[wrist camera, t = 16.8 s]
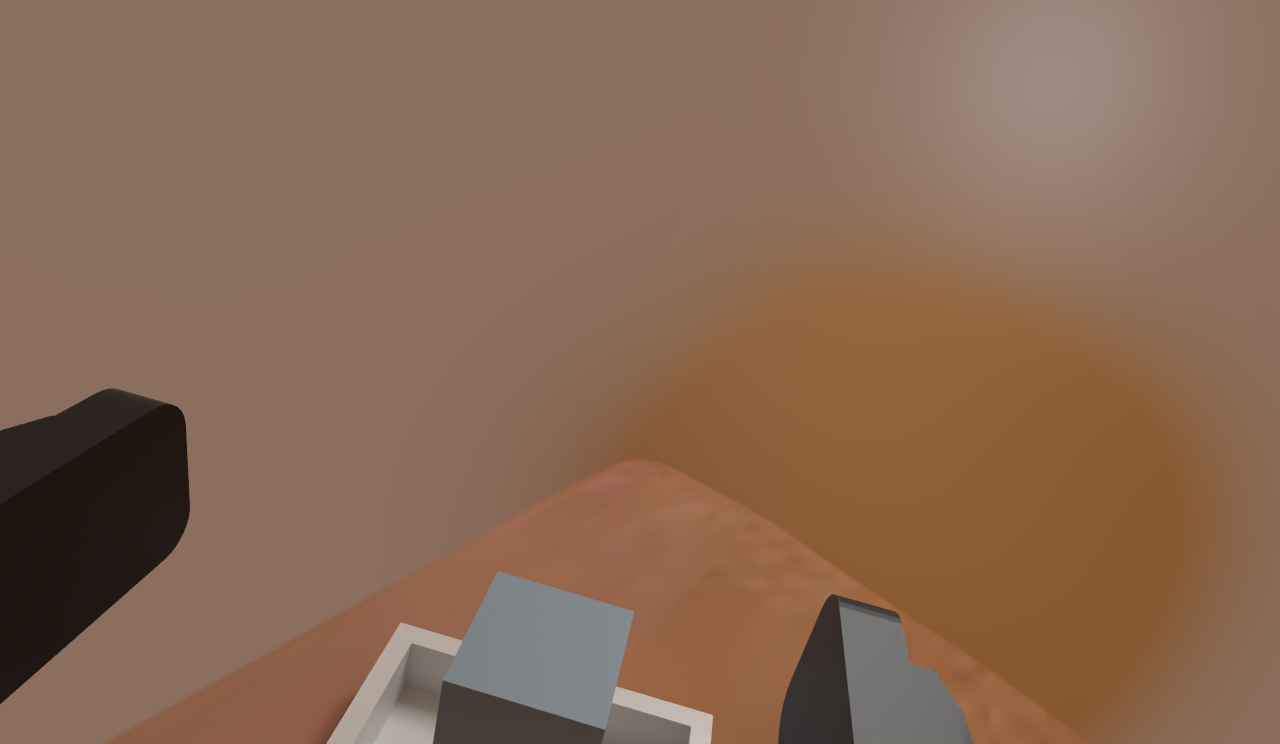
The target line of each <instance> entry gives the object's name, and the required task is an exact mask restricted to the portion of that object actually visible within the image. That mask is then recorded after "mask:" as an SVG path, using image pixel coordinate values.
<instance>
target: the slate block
mask: <svg viewBox="0 0 1280 744" xmlns="http://www.w3.org/2000/svg"><path fill="white" fill-rule="evenodd" d="M633 614H634V611H631V610H627V609H624V608H621V607H617V606H614V605H611V604H607V603H604V602H600V601H597V600H594V599H590V598H587V597H584V596H580V595H577V594H573V593H570V592H567V591H563V590H560V589H557V588H553V587H550V586H547V585H543V584H540V583H536V582H533V581H530V580H526V579H523V578H520V577H516V576H513V575H510V574H506V573H503V572H499V571H498V572H497V574H496V576H495V578H494V580H493V582H492V584H491V586H490V588H489V590H488V592H487V594H486V596H485V598H484V600H483V602H482V604H481V606H480V608H479V610H478V612H477V614H476V616H475V618H474V620H473V622H472V624H471V626H470V628H469V629H468V631H467V633H466V635H465V637H464V639H463V641H462V643H461V645H460V647H459V649H458V651H457V653H456V655H455V657H454V659H453V661H452V663H451V665H450V667H449V669H448V671H447V673H446V675H445V677H444V679H443V682H442V688H441V695H440V701H439V707H438V713H437V720H436V726H435V732H434V739H433V744H601V743H602V739H603V736H604V733H605V729H606V725H607V721H608V717H609V713H610V709H611V705H612V701H613V696H614V692H615V688H616V684H617V680H618V676H619V672H620V668H621V663H622V659H623V655H624V651H625V647H626V643H627V639H628V635H629V630H630V626H631V622H632V618H633Z"/></svg>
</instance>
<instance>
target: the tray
mask: <svg viewBox="0 0 1280 744" xmlns="http://www.w3.org/2000/svg"><path fill="white" fill-rule="evenodd" d="M461 643H462V641H461V640H458V639H455V638H451V637H448V636H444V635H441V634H438V633H434V632H431V631H428V630H424V629H421V628H417V627H414V626H411V625H407V624H404V623H400V625H399V626H398V628H397V630H396V631H395V633H394V635H393V636H392V638H391V639H390V641H389V643H388V644H387V646H386V648H385V649H384V651H383V652H382V654H381V656H380V657H379V659H378V661H377V662H376V664H375V665H374V667H373V669H372V670H371V672H370V674H369V675H368V677H367V678H366V680H365V682H364V683H363V685H362V687H361V688H360V690H359V691H358V693H357V695H356V696H355V698H354V700H353V701H352V703H351V704H350V706H349V708H348V709H347V711H346V713H345V714H344V716H343V717H342V719H341V721H340V722H339V724H338V726H337V727H336V729H335V730H334V732H333V734H332V735H331V737H330V739H329V740H328V742H327V743H326V744H433V739H434V732H435V726H436V720H437V713H438V707H439V701H440V695H441V688H442V682H443V679H444V677H445V675H446V673H447V671H448V669H449V667H450V665H451V663H452V661H453V659H454V657H455V655H456V653H457V651H458V649H459V647H460V645H461ZM712 721H713V715H710V714H707V713H704V712H700V711H697V710H694V709H690V708H687V707H684V706H680V705H677V704H673V703H670V702H667V701H663V700H660V699H657V698H653V697H650V696H646V695H643V694H640V693H636V692H633V691H630V690H626V689H623V688H620V687H616V688H615V692H614V696H613V701H612V705H611V709H610V713H609V717H608V721H607V725H606V729H605V733H604V736H603V739H602V743H601V744H711V733H712Z"/></svg>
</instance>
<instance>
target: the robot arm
mask: <svg viewBox="0 0 1280 744" xmlns="http://www.w3.org/2000/svg"><path fill="white" fill-rule="evenodd" d="M187 460H188V459H187V440H186V423H185V419H184V415H183V413H182V411H181V410H180V409H179V408H178V407H176V406H174V405H171V404H168V403H164V402H161V401H157V400H154V399H150V398H147V397H143V396H140V395H136V394H133V393H129V392H126V391H122V390H118V389H106V390H102V391H100V392H98V393H96V394H94V395H92V396H90V397H88V398H87V399H85V400H83V401H81V402H79V403H78V404H76V405H74V406H72V407H70V408H68V409H67V410H65V411H63V412H61V413H59V414H57V415H55V416H49V417H46V418H42V419H39V420H35V421H32V422H28V423H25V424H21V425H18V426H15V427H11V428H8V429H4V430H1V431H0V704H1V703H2V702H3V701H4V700H5V699H7V698H8V697H9V696H10V695H11V694H12V693H13V692H15V691H16V690H17V689H18V688H19V687H20V686H21V685H22V684H24V683H25V682H26V681H27V680H28V679H29V678H30V677H32V676H33V675H34V674H35V673H36V672H37V671H38V670H40V669H41V668H42V667H43V666H44V665H45V664H46V663H48V662H49V661H50V660H51V659H52V658H53V657H54V656H55V655H57V654H58V653H59V652H60V651H61V650H62V649H63V648H65V647H66V646H67V645H68V644H69V643H70V642H71V641H73V640H74V639H75V638H76V637H77V636H78V635H79V634H80V633H81V632H83V631H84V630H85V629H86V628H87V627H88V626H90V625H91V624H92V623H93V622H94V621H95V620H96V619H98V617H100V616H101V615H102V614H103V613H104V612H105V611H106V610H108V609H109V608H110V607H111V606H112V605H113V604H115V603H116V602H117V601H118V600H119V599H120V598H121V597H123V595H125V594H126V593H127V592H128V591H129V590H130V589H132V588H133V587H134V586H135V585H136V584H137V583H138V582H140V580H142V579H143V578H144V577H145V576H146V575H147V574H149V573H150V572H151V571H152V570H153V569H154V568H155V567H157V566H158V565H159V564H160V563H161V562H162V561H163V560H164V559H166V558H167V556H168V555H169V554H170V553H171V552H172V551H173V550H174V548H175V547H176V545H177V544H178V542H179V541H180V539H181V537H182V534H183V533H184V530H185V528H186V525H187V522H188V518H189V512H190V499H189V480H188V461H187ZM778 744H973V743H972V740H971V736H970V732H969V729H968V725H967V721H966V718H965V714H964V713H963V711H962V710H961V708H960V707H959V705H958V704H957V702H956V701H955V699H954V698H953V696H952V695H951V693H950V692H949V690H948V689H947V687H946V686H945V684H944V683H943V681H942V680H941V678H940V677H939V675H938V674H937V672H936V671H933V670H929V669H926V668H922V667H919V666H915V665H912V664H910V660H909V655H908V650H907V645H906V640H905V636H904V631H903V626H902V622H901V619H900V617H899V615H898V614H897V613H896V612H894V611H891V610H887V609H884V608H880V607H877V606H873V605H870V604H866V603H862V602H859V601H855V600H852V599H848V598H845V597H841V596H838V595H834V594H833V595H830V596H829V597H828V599H827V600H826V602H825V603H824V605H823V607H822V609H821V612H820V614H819V616H818V619H817V621H816V623H815V626H814V628H813V630H812V633H811V635H810V637H809V640H808V642H807V644H806V647H805V649H804V651H803V654H802V656H801V658H800V661H799V663H798V665H797V668H796V670H795V672H794V675H793V677H792V679H791V681H790V684H789V687H788V690H787V693H786V696H785V700H784V704H783V708H782V713H781V719H780V727H779V742H778Z"/></svg>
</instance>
